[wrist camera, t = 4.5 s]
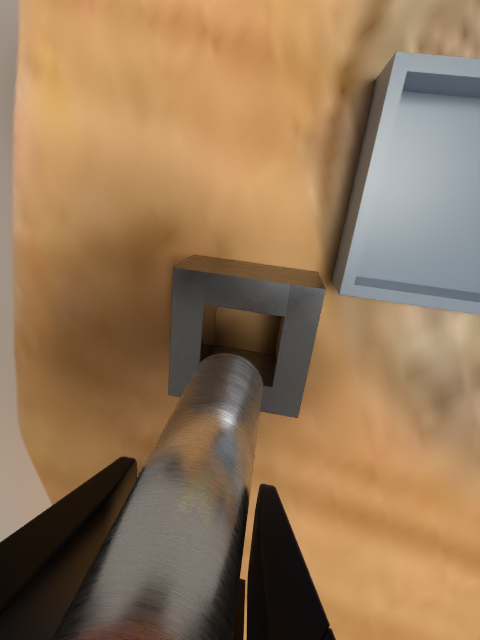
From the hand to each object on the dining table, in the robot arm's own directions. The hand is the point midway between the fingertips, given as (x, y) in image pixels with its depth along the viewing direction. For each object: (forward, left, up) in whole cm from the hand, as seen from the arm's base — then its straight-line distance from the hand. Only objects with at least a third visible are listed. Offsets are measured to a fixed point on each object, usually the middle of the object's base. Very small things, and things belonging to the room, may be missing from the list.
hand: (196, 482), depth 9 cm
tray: (+8, -10, -13) cm, 18 cm away
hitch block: (0, 0, -13) cm, 13 cm away
